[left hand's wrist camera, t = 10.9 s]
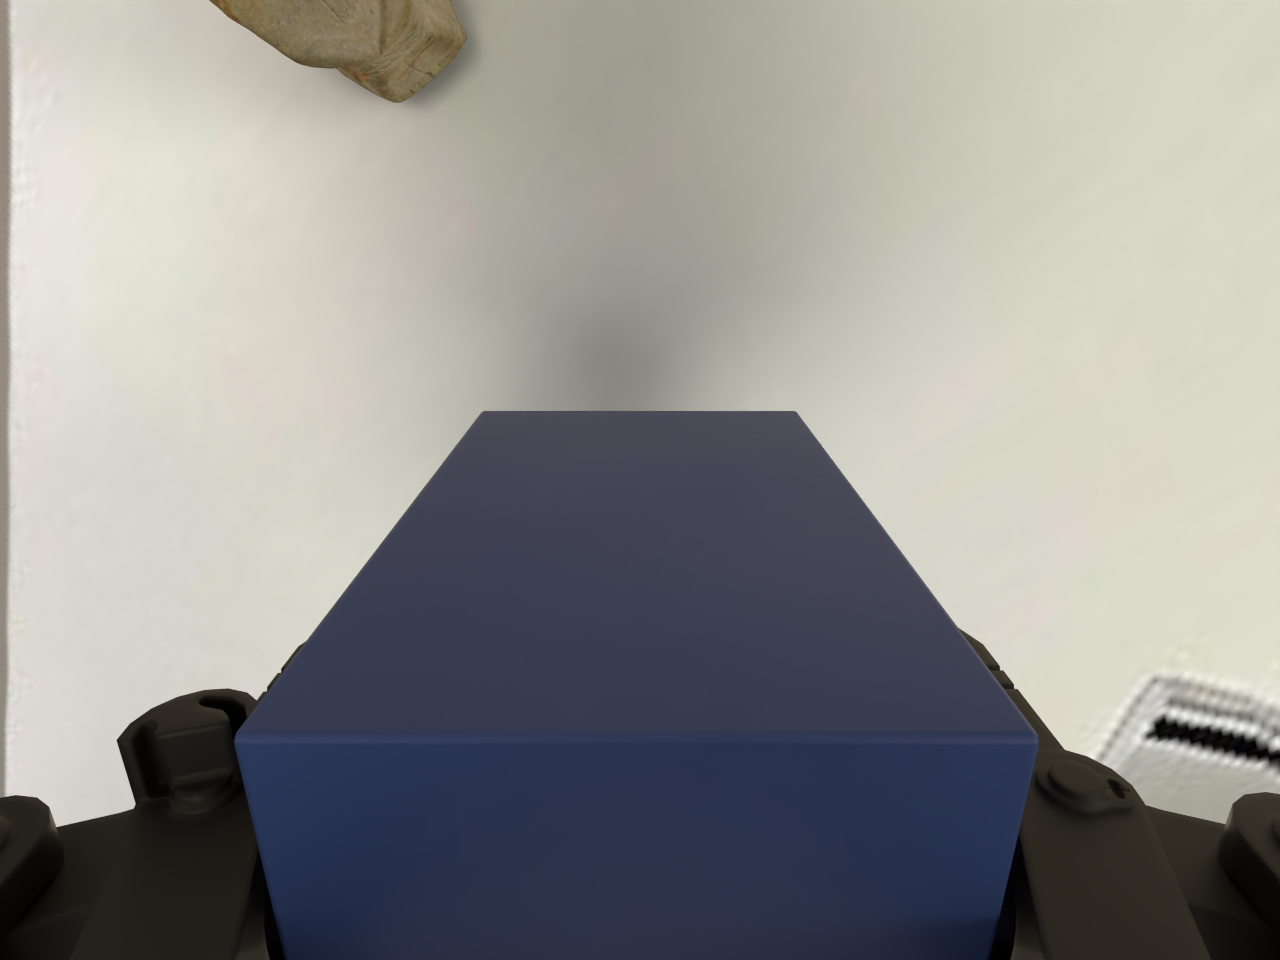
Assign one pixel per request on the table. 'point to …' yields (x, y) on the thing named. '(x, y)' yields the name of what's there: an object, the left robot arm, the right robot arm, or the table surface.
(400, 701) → the bar
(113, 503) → the table surface
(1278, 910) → the left robot arm
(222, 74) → the table surface
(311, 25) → the sculpture
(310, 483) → the table surface
